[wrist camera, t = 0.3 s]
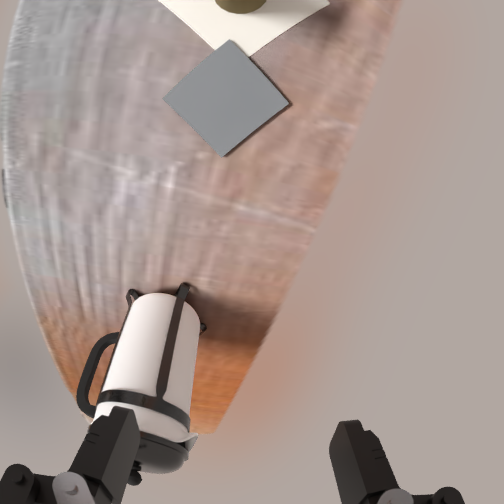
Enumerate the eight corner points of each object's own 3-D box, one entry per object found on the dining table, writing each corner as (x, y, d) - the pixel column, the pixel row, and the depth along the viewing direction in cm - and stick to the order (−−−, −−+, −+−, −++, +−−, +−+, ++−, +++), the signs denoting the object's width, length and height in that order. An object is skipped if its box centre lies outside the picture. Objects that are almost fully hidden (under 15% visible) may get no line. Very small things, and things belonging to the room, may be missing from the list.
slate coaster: (163, 98, 29) (162, 98, 28) (229, 39, 25) (229, 39, 24) (222, 156, 33) (221, 157, 32) (288, 103, 29) (289, 103, 29)
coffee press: (142, 255, 41) (70, 455, 16) (228, 306, 47) (220, 496, 22) (105, 314, 48) (55, 462, 24) (177, 352, 54) (156, 497, 29)
